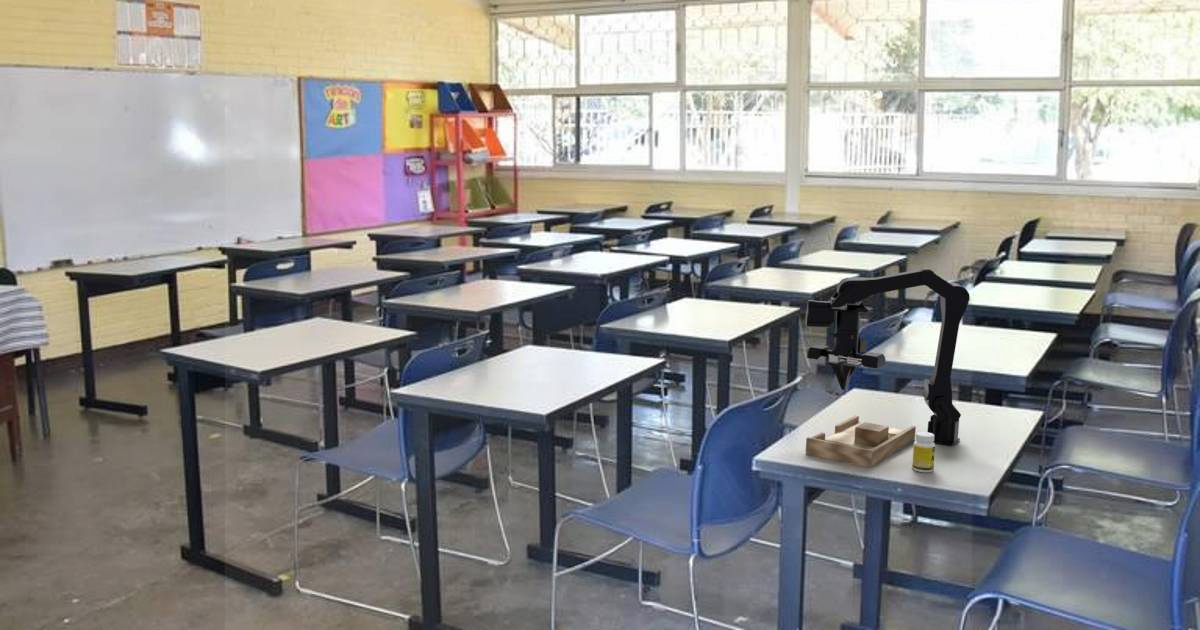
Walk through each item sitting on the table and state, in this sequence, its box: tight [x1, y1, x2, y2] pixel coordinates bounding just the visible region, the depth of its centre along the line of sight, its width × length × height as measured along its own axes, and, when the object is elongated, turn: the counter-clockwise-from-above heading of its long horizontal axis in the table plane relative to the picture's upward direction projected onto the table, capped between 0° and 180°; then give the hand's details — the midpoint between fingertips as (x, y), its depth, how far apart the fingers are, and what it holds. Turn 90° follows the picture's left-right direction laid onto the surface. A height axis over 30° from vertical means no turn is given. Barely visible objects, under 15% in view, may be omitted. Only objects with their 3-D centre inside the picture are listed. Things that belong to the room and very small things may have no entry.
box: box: [805, 415, 916, 468], centre depth 253 cm, size 16×29×4 cm, turn 143°
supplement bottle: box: [911, 431, 936, 473], centre depth 236 cm, size 5×5×8 cm
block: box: [854, 421, 890, 447], centre depth 250 cm, size 6×6×4 cm
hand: (843, 389), depth 261 cm, fingers closed
